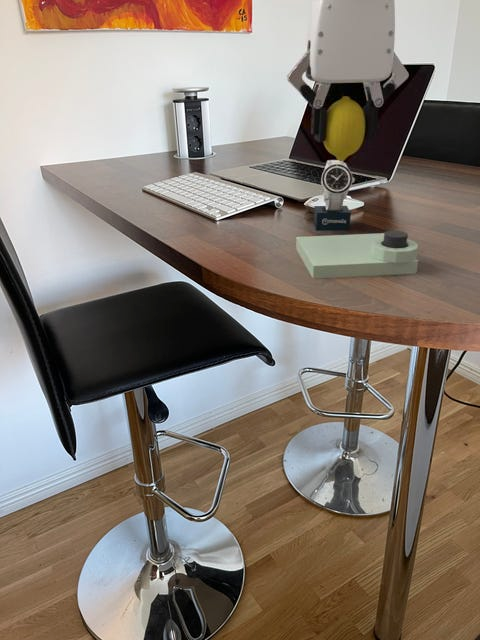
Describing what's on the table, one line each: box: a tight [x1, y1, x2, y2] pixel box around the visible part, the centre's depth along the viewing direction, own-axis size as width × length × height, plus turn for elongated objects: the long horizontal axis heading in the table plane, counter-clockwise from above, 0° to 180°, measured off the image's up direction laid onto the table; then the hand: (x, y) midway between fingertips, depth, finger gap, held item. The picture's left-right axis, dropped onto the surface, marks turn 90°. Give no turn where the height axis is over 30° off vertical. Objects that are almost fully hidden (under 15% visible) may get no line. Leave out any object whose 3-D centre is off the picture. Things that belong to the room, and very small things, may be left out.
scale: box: [295, 232, 419, 280], centre depth 70 cm, size 14×12×4 cm
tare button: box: [383, 230, 409, 248], centre depth 66 cm, size 3×3×2 cm
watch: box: [313, 159, 356, 232], centre depth 83 cm, size 6×8×11 cm
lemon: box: [322, 95, 365, 162], centre depth 65 cm, size 6×6×8 cm
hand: (342, 138), depth 65 cm, fingers closed on lemon, 5 cm apart
